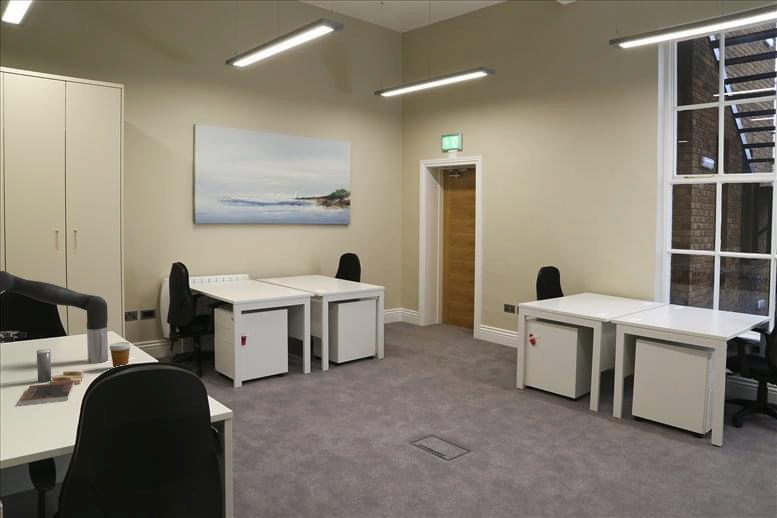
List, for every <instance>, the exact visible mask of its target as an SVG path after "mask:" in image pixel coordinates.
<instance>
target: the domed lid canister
mask: <svg viewBox="0 0 777 518" xmlns="http://www.w3.org/2000/svg"><path fill="white" fill-rule="evenodd" d="M36 367H37V383H39V384H41V383H44V382H45V383H49V381H50V382H52V356H51V349H50V348H43V349H42V348H41V349H37V350H36ZM45 383H44V384H45Z"/></svg>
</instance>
